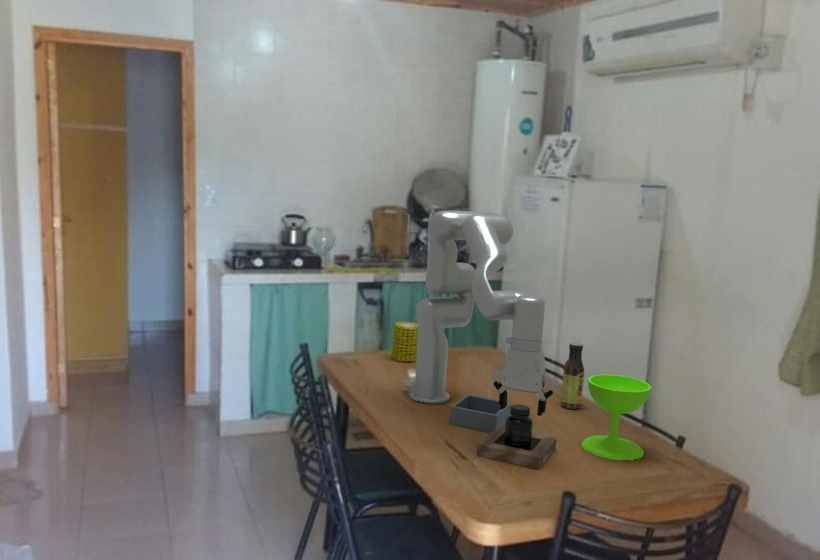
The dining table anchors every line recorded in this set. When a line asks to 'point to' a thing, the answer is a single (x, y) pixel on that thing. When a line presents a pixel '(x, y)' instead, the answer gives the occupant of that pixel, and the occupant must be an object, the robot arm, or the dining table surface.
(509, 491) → the dining table surface
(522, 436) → the supplement bottle
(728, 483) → the dining table surface
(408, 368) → the dining table surface
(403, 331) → the food
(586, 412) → the dining table surface
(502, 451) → the socket block
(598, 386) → the wineglass
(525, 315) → the robot arm
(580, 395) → the sauce bottle
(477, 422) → the bin
